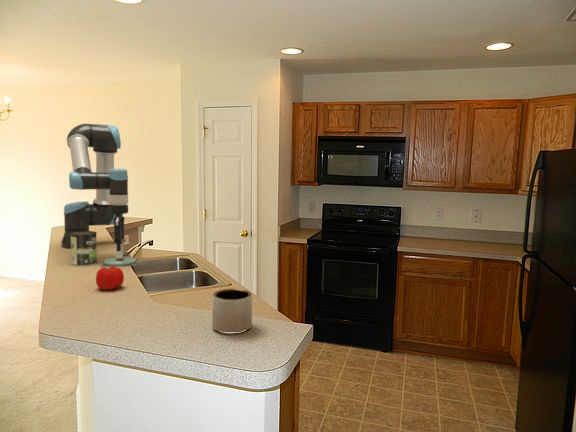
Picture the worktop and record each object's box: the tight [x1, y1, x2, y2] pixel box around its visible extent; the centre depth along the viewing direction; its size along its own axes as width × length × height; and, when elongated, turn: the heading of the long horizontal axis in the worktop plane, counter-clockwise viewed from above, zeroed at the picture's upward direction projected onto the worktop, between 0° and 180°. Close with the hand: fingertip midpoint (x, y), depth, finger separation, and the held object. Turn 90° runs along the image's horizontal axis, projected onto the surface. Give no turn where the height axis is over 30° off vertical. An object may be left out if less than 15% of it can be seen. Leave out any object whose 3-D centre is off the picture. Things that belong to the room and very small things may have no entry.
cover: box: [103, 238, 137, 267], centre depth 184 cm, size 13×13×10 cm
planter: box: [211, 288, 253, 332], centre depth 115 cm, size 11×11×10 cm
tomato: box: [95, 266, 125, 291], centre depth 148 cm, size 9×9×8 cm
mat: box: [99, 258, 139, 268], centre depth 185 cm, size 14×14×1 cm
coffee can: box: [70, 230, 98, 267], centre depth 182 cm, size 10×10×14 cm
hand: (119, 257), depth 185 cm, fingers closed on cover, 3 cm apart
